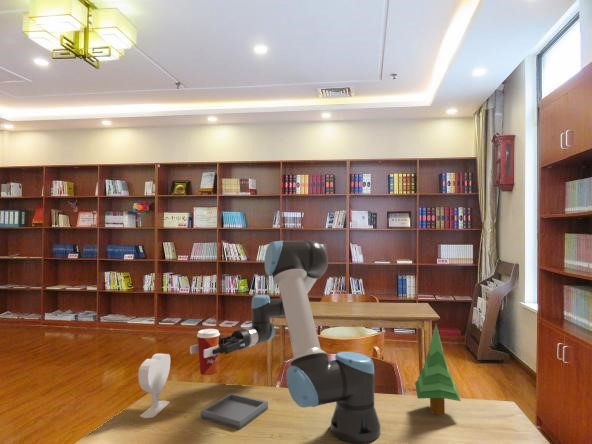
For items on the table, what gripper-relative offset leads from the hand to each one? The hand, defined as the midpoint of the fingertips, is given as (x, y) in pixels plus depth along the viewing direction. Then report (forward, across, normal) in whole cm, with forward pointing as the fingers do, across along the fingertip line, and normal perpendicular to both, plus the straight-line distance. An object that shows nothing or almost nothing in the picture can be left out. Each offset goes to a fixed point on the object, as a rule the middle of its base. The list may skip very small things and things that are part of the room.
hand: (197, 352), depth 144 cm
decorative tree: (-47, -69, -19) cm, 85 cm away
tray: (-4, -15, -19) cm, 25 cm away
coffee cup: (-5, 0, -9) cm, 10 cm away
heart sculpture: (+11, +10, -19) cm, 24 cm away
